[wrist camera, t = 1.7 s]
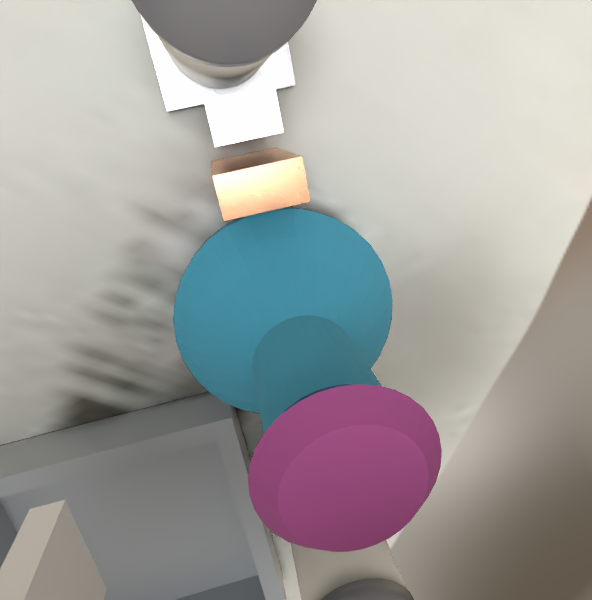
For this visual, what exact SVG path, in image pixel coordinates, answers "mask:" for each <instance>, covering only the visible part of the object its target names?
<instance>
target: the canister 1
mask: <svg viewBox="0 0 592 600" xmlns="http://www.w3.org/2000/svg"><path fill="white" fill-rule="evenodd" d="M132 1H133V3H134V5H135V6H136V8H137V10H138V11H139V13H140V15H141V16H142V18H143V19H144V20H145V22H146V23H147V24H148V26H149V27H150V28H151V29H152V31H153V32H154V33H155V34H156V35H157V36H158V37H159V39H160V41H161V43H162V44H163V46H164V48H165V49H166V51H167V53H168V55H169V56H170V58H171V60H172V61H173V63H174V64H175V65H176V67H177V68H178V69H179V70H180V71H181V72H182V73H183V74H184V75H185V76H186V77H188V78H189V79H191V80H192V81H194V82H195V83H198V84H200V85H202V86H205V87H209V88H215V89H225V88H231V87H235V86H238V85H240V84H242V83H244V82H245V81H247V80H249V79H250V78H251V77H252V76H253V75H254V74H255V73H256V72H257V71H258V70H259V69H260V67H261V66H262V65H263V64H264V63H265V62H266V60H267V59H268V58H269V57H270V56H271V55H272V54H273V53H275V52H277V51H278V50H279V49H280V48H281V47H283V46H284V45H285V44H286V43H287V42H288V41H289V40H290V39H291V38H292V36H293V35H294V34H295V33H296V32H297V31H298V30H299V29H300V28H301V26H302V25H303V23H304V22H305V21H306V19H307V18H308V16H309V15H310V13H311V11H312V9H313V7H314V5H315V3H316V1H317V0H132Z"/></svg>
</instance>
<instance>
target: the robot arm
mask: <svg viewBox="0 0 592 600" xmlns="http://www.w3.org/2000/svg"><path fill="white" fill-rule="evenodd" d="M106 589H107V588H106V586H105V583H104V581H103V579H102V577H101V575H100V573H99V571H98V569H97V566H96V564H95V562H94V560H93V558H92V556H91V554H90V552H89V549H88V547H87V545H86V543H85V541H84V539H83V537H82V535H81V532H80V530H79V528H78V526H77V524H76V522H75V520H74V518H73V515H72V513H71V511H70V509H69V507H68V505H67V503H66V501H65V500H62V501H58V502H54V503H51V504H47V505H43V506H39V507H35V508H31V509H29V512H28V514H27V516H26V518H25V520H24V522H23V524H22V526H21V528H20V530H19V532H18V534H17V536H16V538H15V540H14V542H13V544H12V546H11V548H10V550H9V552H8V554H7V556H6V558H5V560H4V562H3V564H2V566H1V568H0V600H104V598H105V593H106Z"/></svg>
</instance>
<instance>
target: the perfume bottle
mask: <svg viewBox="0 0 592 600" xmlns="http://www.w3.org/2000/svg"><path fill="white" fill-rule="evenodd" d="M391 320H392V295H391V289H390V283H389V279H388V276H387V274H386V272H385V269H384V267H383V264H382V262H381V260H380V259H379V257H378V256H377V254H376V253H375V251H374V250H373V248H372V247H371V245H370V244H369V243H368V242H367V241H366V240H365V239H364V238H362V237H361V236H360V235H359V234H358V233H357V232H356V231H355V230H354V229H352V228H350V227H349V226H347V225H345V224H344V223H342V222H340V221H339V220H337V219H335V218H332V217H329V216H326V215H323V214H320V213H318V212H315V211H311V210H305V209H297V208H290V207H288V208H280V209H275V210H271V211H267V212H262V213H258V214H253V215H249V216H245V217H240V218H238V219H236V220H234V221H232V222H230V223H228V224H226V225H225V226H224V227H222V228H221V229H220V230H219V231H217V232H216V233H215V234H213V235H212V236H211V237H210V238H209V239H208V240H207V241H206V242H205V243H204V244H203V246H202V247H201V248H200V249H199V250H198V251H197V253H196V254H195V255H194V257H193V258H192V260H191V262H190V264H189V266H188V267H187V269H186V271H185V273H184V275H183V276H182V278H181V281H180V285H179V288H178V291H177V295H176V298H175V306H174V318H173V322H174V329H175V336H176V342H177V345H178V348H179V350H180V353H181V356H182V358H183V361H184V362H185V364H186V365H187V367H188V368H189V370H190V372H191V373H192V375H193V376H194V378H195V379H196V380H197V381H198V382H199V383H200V384H201V385H202V386H203V387H204V388H205V389H206V390H207V391H208V392H210V393H211V394H213V395H214V396H216V397H217V398H219V399H220V400H222V401H223V402H225V403H227V404H230V405H232V406H234V407H237V408H239V409H241V410H245V411H249V412H254V413H258V414H260V418H261V424H262V429H263V436H262V438H261V439H260V441H259V443H258V444H257V446H256V449H255V451H254V454H253V456H252V459H251V462H250V467H249V474H248V486H249V496H250V499H251V501H252V504H253V507H254V510H255V511H256V513H257V514H258V516H259V517H260V519H261V520H262V522H263V523H264V524H265V525H266V526H267V527H268V528H269V529H270V530H271V531H272V532H273V533H275V534H276V535H278V536H280V537H281V538H283V539H285V540H286V541H288V542H291V543H294V544H296V545H299V546H302V547H306V548H312V549H318V550H324V551H331V552H349V551H355V550H361V549H365V548H368V547H371V546H374V545H376V544H378V543H380V542H382V541H384V540H386V539H388V538H390V537H391V536H393V535H394V534H396V533H397V532H399V531H400V530H401V529H402V528H403V527H404V526H405V525H406V524H407V523H408V522H410V521H411V519H412V518H413V517H414V515H415V514H416V513H417V511H418V510H419V509H420V507H421V506H422V505H423V503H424V502H425V500H426V499H427V498H428V496H429V494H430V492H431V490H432V488H433V486H434V484H435V482H436V479H437V476H438V473H439V469H440V464H441V444H440V438H439V434H438V432H437V429H436V427H435V424H434V422H433V420H432V419H431V418H430V416H429V415H428V414H427V412H426V411H425V410H424V408H422V407H421V406H420V405H419V404H418V403H416V402H415V401H414V400H413V399H411V398H410V397H408V396H406V395H404V394H402V393H400V392H398V391H396V390H393V389H389V388H385V387H382V386H381V384H380V383H379V381H378V380H377V378H376V377H375V375H374V374H373V372H372V371H371V367H372V366H373V364H374V363H375V361H376V360H377V359H378V357H379V356H380V353H381V351H382V349H383V346H384V344H385V342H386V340H387V337H388V333H389V328H390V324H391Z"/></svg>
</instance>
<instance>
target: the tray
mask: <svg viewBox="0 0 592 600" xmlns="http://www.w3.org/2000/svg"><path fill="white" fill-rule="evenodd" d="M250 462H251V461H250V458H249V454H248V451H247V447H246V444H245V440H244V437H243V433H242V429H241V426H240V422H239V419H238V415H237V412H236V408H235V407H234V406H232V405H230V404H227V403H225V402H223V401H222V400H220V399H219V398H217V397H216V396H214V395H213V394H211V393H210V392H206V393H203V394H199V395H195V396H191V397H187V398H183V399H179V400H175V401H171V402H168V403H164V404H160V405H156V406H152V407H148V408H144V409H140V410H136V411H133V412H129V413H125V414H121V415H117V416H113V417H109V418H105V419H101V420H98V421H94V422H90V423H86V424H82V425H78V426H74V427H70V428H66V429H63V430H59V431H55V432H51V433H47V434H43V435H39V436H35V437H31V438H28V439H24V440H20V441H16V442H12V443H8V444H4V445H0V568H1V566H2V564H3V562H4V560H5V558H6V556H7V554H8V552H9V550H10V548H11V546H12V544H13V542H14V540H15V538H16V536H17V534H18V532H19V530H20V528H21V526H22V524H23V522H24V520H25V518H26V516H27V514H28V512H29V509H31V508H35V507H39V506H43V505H47V504H51V503H54V502H58V501H62V500H65V501H66V503H67V505H68V507H69V509H70V511H71V513H72V515H73V518H74V520H75V522H76V524H77V526H78V528H79V530H80V532H81V535H82V537H83V539H84V541H85V543H86V545H87V547H88V549H89V552H90V554H91V556H92V558H93V560H94V562H95V564H96V566H97V569H98V571H99V573H100V575H101V577H102V579H103V581H104V583H105V586H106V588H107V589H106V593H105V598H104V600H286V595H285V588H284V582H283V576H282V571H281V567H280V564H279V560H278V557H277V553H276V549H275V546H274V542H273V539H272V535H271V532H270V529H269V528H268V527H267V526H266V525H265V524H264V523H263V522H262V520H261V519H260V517H259V516H258V514H257V513H256V511H255V510H254V507H253V504H252V501H251V499H250V496H249V486H248V474H249V467H250Z"/></svg>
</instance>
